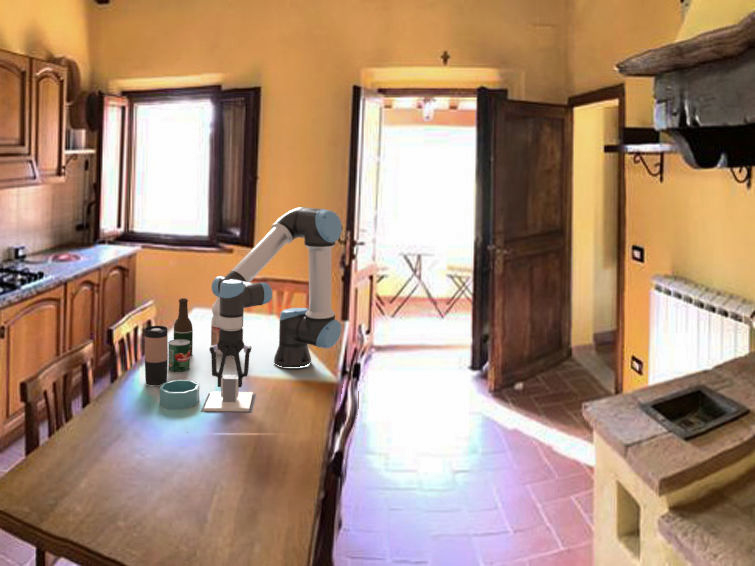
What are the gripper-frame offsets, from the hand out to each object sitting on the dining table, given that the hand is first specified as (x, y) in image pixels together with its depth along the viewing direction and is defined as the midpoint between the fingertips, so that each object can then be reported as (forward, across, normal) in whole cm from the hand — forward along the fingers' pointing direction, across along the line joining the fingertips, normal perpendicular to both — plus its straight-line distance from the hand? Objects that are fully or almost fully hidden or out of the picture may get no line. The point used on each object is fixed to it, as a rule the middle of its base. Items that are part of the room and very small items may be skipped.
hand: (229, 395), depth 187 cm
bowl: (+3, +16, 0) cm, 16 cm away
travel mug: (+3, +28, -19) cm, 34 cm away
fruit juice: (+3, +10, -56) cm, 57 cm away
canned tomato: (+3, +23, -33) cm, 40 cm away
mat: (+3, 0, 0) cm, 3 cm away
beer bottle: (+3, +25, -50) cm, 56 cm away
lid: (+2, 0, 0) cm, 2 cm away
